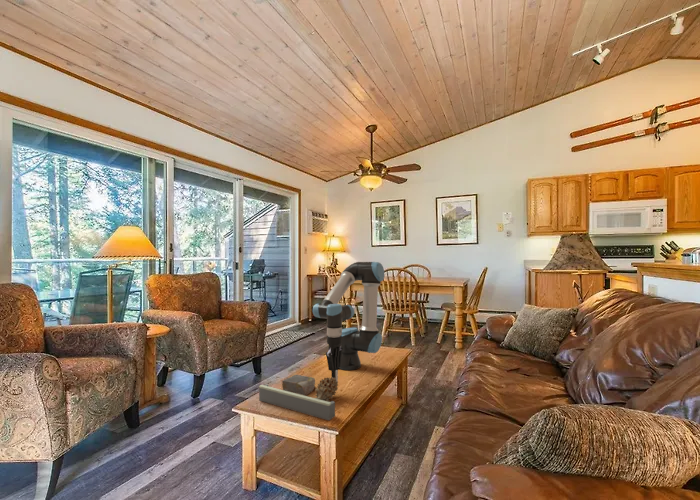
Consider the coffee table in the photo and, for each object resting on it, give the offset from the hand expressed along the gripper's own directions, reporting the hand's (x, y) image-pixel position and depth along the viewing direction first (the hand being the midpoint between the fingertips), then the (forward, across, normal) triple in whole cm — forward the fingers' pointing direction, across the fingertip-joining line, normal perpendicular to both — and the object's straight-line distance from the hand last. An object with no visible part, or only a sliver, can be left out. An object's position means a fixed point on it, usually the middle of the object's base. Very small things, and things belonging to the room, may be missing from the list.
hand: (334, 383), depth 163 cm
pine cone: (+5, -12, 0) cm, 13 cm away
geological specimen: (+6, -4, +19) cm, 20 cm away
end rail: (+5, -22, +8) cm, 23 cm away
